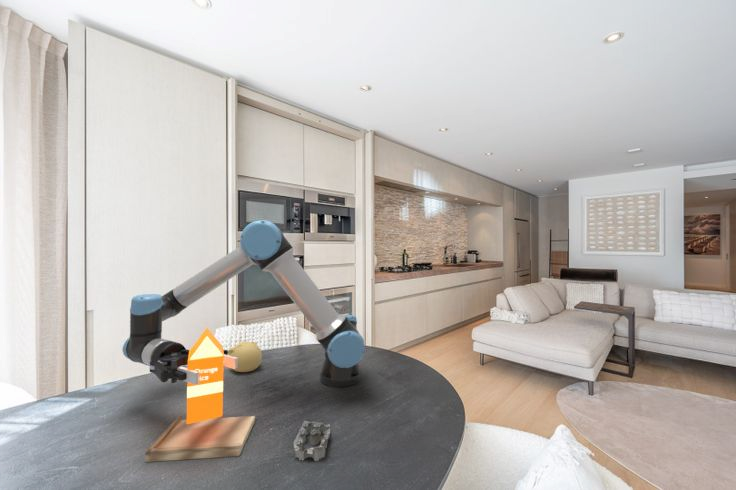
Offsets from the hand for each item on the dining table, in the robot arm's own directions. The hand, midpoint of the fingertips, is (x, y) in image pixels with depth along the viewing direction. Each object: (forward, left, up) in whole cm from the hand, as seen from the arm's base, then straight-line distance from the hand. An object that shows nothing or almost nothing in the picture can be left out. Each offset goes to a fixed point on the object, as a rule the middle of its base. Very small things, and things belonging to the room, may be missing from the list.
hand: (218, 370), depth 74 cm
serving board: (+3, -2, -18) cm, 18 cm away
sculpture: (+6, -47, -18) cm, 51 cm away
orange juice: (+4, -3, -11) cm, 12 cm away
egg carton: (-23, +3, -18) cm, 29 cm away
